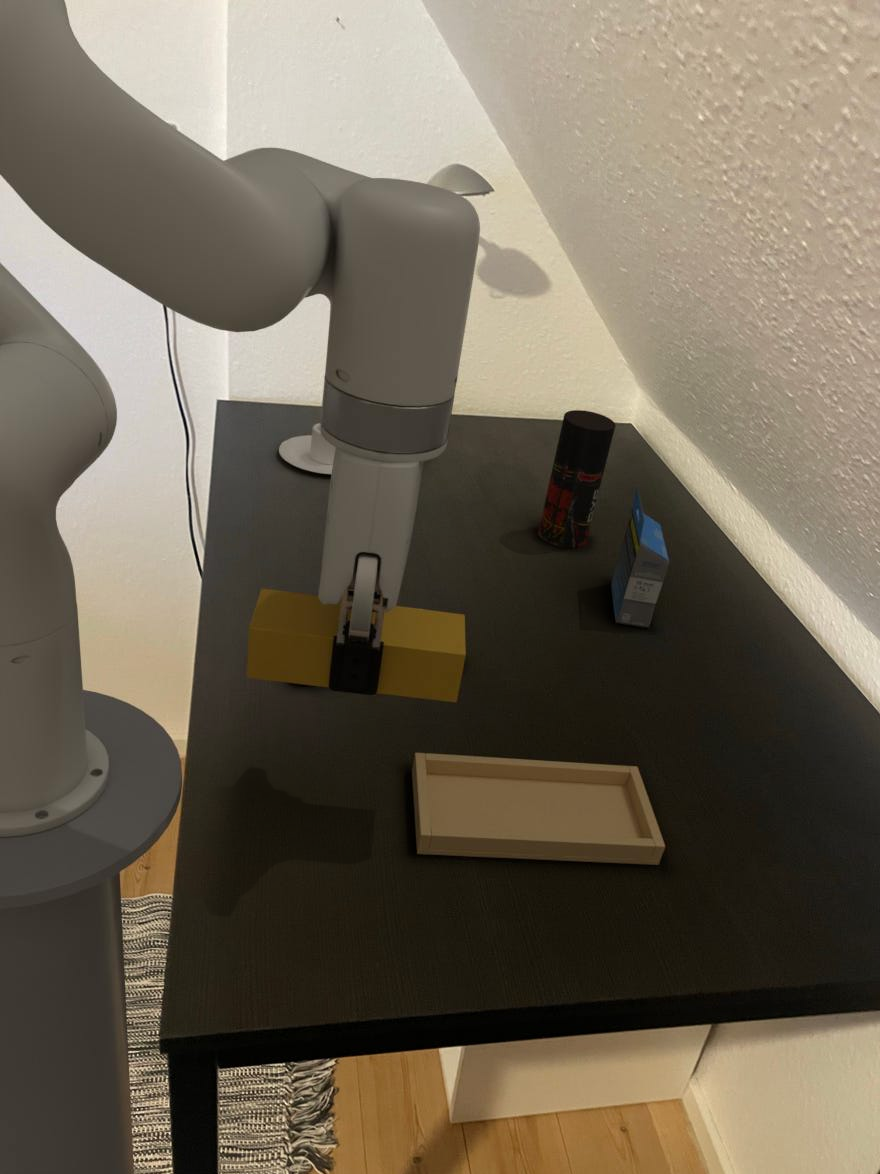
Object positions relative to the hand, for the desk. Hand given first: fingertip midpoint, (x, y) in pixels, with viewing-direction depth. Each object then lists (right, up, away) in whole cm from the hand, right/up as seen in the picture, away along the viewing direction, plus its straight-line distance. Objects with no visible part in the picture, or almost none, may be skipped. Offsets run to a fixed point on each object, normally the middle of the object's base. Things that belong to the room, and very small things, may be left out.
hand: (356, 663), depth 67 cm
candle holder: (-11, +25, +60) cm, 65 cm away
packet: (0, 0, 0) cm, 1 cm away
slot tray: (+13, -12, +10) cm, 20 cm away
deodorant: (+18, +14, +52) cm, 57 cm away
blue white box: (+25, +5, +41) cm, 48 cm away
